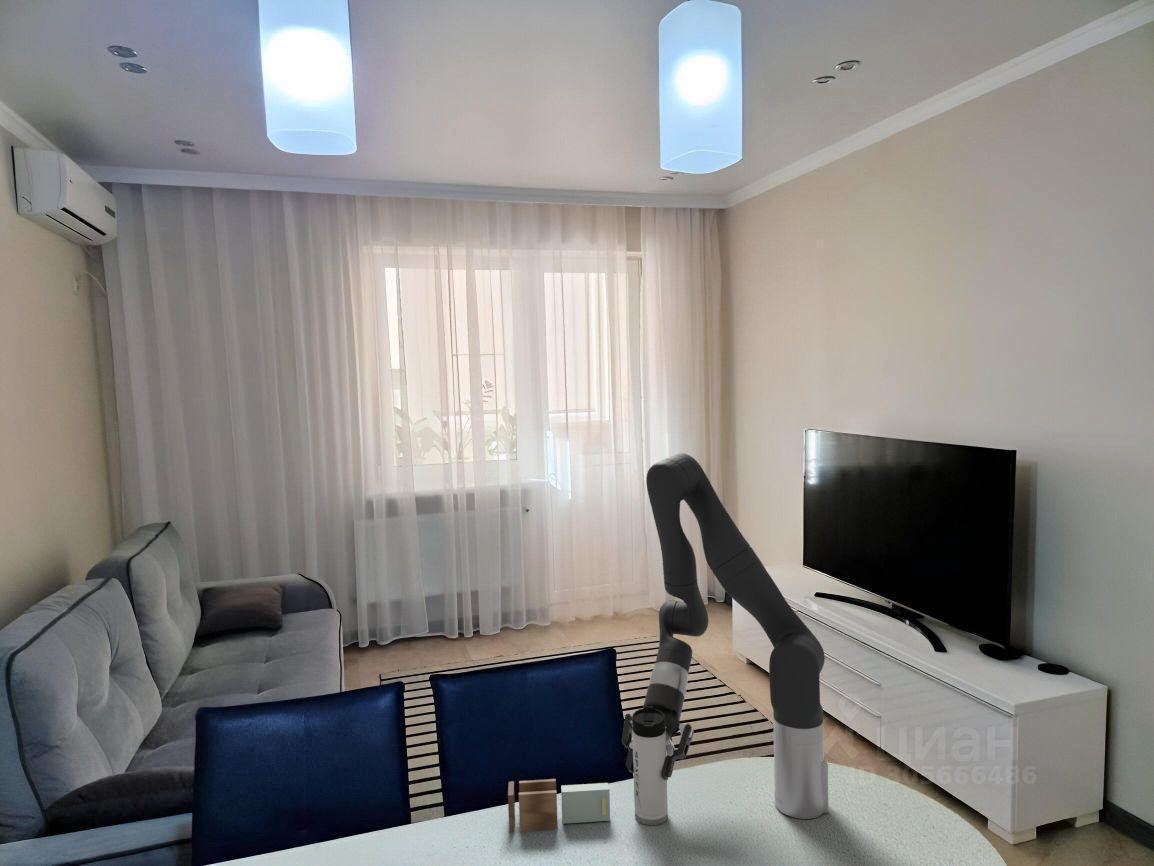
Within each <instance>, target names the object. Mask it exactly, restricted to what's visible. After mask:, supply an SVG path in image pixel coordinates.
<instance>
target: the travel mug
mask: <svg viewBox="0 0 1154 866" xmlns="http://www.w3.org/2000/svg"><path fill="white" fill-rule="evenodd" d="M643 706H644V705H643ZM631 716H632V723H633V730H632V732H633V734H632V740H633V768H634V773H633V797H634V799H633V800H634V817H635V819H636V820H637V821H638V822H639V823H642V824H644V825H646V824H647V825H646V826H656V825H660V824H663V823H664V822H666V820H668V816H669V814H668V813H669V811H668V780H663V778H662V776H661V774H662V769H663V765H664V761H665V757H666V756H667V750H666V735H665V733H666V732H665V716H664V714H663V713H662V712H661V711H660V710H657V709H653V706H644V708H643V707H642V708H640V709H638V710H636V711H634V712H633V714H632V715H631Z"/></svg>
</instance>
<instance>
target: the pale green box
mask: <svg viewBox="0 0 1154 866" xmlns="http://www.w3.org/2000/svg"><path fill="white" fill-rule="evenodd" d="M560 786H561V787H560V789H561V790H560V791H561V793H560V794H561V820H562V824H576V823H593V822H595V823H596V822H604V821H605V822H606V821H607V822H608V821H611V802H610V800H611V799H610V797H611V796H610V786H609V782H598V783H597V782H596V783H586V784H584V783H582V784H567V785H566V784H565V785H560Z"/></svg>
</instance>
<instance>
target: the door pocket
mask: <svg viewBox="0 0 1154 866" xmlns="http://www.w3.org/2000/svg"><path fill="white" fill-rule="evenodd" d="M518 786H519V787H518V790H519V792H518V810H519V812H518V815H519V832H520V833H524V832H536V831H537V832H538V831H555V830H554V829H557V830H559V829H558V826H559V825H558V795H557V792H558V791H557V780H556V778H549V779H534V780H530V779H529V780H519V782H518ZM507 789H508V790H507V802H508V803H507V806H508V807H507V809H508V833H515V829H516V808H515V805H516V804H515V801H516V800H515V781H512V780H511V781H508V788H507Z"/></svg>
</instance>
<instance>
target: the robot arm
mask: <svg viewBox="0 0 1154 866" xmlns="http://www.w3.org/2000/svg"><path fill="white" fill-rule="evenodd" d="M645 480H646V489H647V494H648V495H647V496H648V498H649V503H650V507H651V511H652V515H653V518H654V519H653V520H654V523H655V529H656V531H657V535H658V538H659V539H658V540H659V544H660V550H661V557H662V570H663V571H662V572H663V573H662V574H663V583H664V584H663V585H664V589H665V592H666V593H667V594H668V595H670V596H672V597H674V598H677V599H679V600H674V599H673V600H666V601H665V602H664V603H662V605H660V608H659V611H658V623H659V624H658V625H659V641H658V642H659V644H658V651H657V655H656V659H655V662H654V666H653V669H652V672H651V674H650V678H649V681H648V682H649V683H648V686H647V689H646V695H645V699H644V703H643V707H642V709H643V708H644V706H653V709H657V710H660V711H661V712H662V713H663V714H664V716H665V732H666V733H665V735H666V757H665V761H664V765H663V769H662V774H661V776H662V778H663V780H667V781H669V778H671V777H672V775H673V770H674V766H675V762H676V760H678V759H681V760H685V759H686V757H687V755H688V752H689V749H690V746H691V743H692V739H693V736H694V733H695V732H694V729H693V727H692V725H691V724H690V723H687V724H683V723H681V716H682V711H683V707H684V701H685V698H686V695H687V687H688V679H689V678H688V677H689V672H690V667H691V664H692V663H691V662H692V658H693V649H692V647H691V645H690V644H689V643H687V642H686V641H684V640H681V639H679V638H676V637H674V635H679V636H680V635H681V636H687V637H695V638H696V637H701V636H702V635H704V633H706V631H707V629H708V626H709V613H708V610H707V607H706V605H705V602H704V599H703V598H702V594H701V590H700V588H699V584H698V571H697V561H696V555H695V552H694V549H693V546H692V544H691V542H690V541H689V539H688V538H687V535H686V533H685V532H684V530H683V527H682V524H681V517H680V516H681V514H680V513H681V512H680V511H681V502H682V501H684V502H685V503H686V504H687V506H688V507H689V509H690V511H691V512H692V513H693V515H694V517H695V518H696V521H697V524H698V527H699V530H700V537H701V542H702V548H703V553H704V557H705V560H706V563H707V565H708V567H709V568H710V570H711V572H712V573H713V576H715V578H716V579H717V582H719V584H720V586H721V587H722V588H723V589H724V591H725V592H726V593H727V595H729V597H731V599H733V600H734V601H735V602H736V603H738V604H739V605H740V606H741V607H742V608H743V609H744V610H745V611H747V612H748V614H750V615H751V616H752V617H753V618H754V619H755V620H756V621H757V622H758V624H759V626H760V627H761V628H762V630H763V631H764V633H765V635H766V636H767V637H768V639H769V641H770V643H771V644H772V647H773V649H772V651H771V653H770V656H769V663H768V671H769V672H768V674H769V694H770V698H769V699H770V704H771V707H772V713H773V715H772V717H773V758H774V759H773V765H774V767H773V770H774V804H775V807H776V809H777V810H778V811H779V812H781V813H782V814H784V815H786V816H788V817H792V818H795V819H801V820H807V819H808V820H811V819H815V818H818V817H820V816H822V815H823V814H829V811H830V810H829V808H830V805H829V801H830V799H829V763H828V762H827V761H826V760H825V758H824V757H825V755H824V752H825V750H824V746H825V745H824V744H825V743H824V741H825V740H824V707H823V706H822V703H821V695H820V694H821V692H820V691H821V690H820V689H821V687H820V686H821V685H820V684H821V682H820V681H821V680H820V673H822V670H823V668H824V665H825V660H826V659H825V658H826V657H825V652H824V651H825V650H824V649H823V646H822V644H821V643H820V641H819V640H818V638H817V637H816V635H814V633H813V632H812V631H811V630H810V629H809V627H808V626H807V625H806V624H805V623H804V621H802V619H801V617H800V616H799V615H798V614H797V613H796V612H795V611H794V610H793V608H792V607H791V606H790V604H789V603H788V601H787V599H786V598H785V597H784V595H783V594H782V592H781V590H780V588H779V587H778V586H777V584H776V583H775V581H774V580H773V578H772V576H771V575H770V573H769V572H768V571H767V569H766V567H765V565H764V564H763V563H762V561H761V560H760V558H759V556H758V555H757V554H756V552H755V550H754V549H753V548H752V546H751V545H750V544H749V542H748V541H747V539H746V538H745V537H744V535H743V534H742V532H741V531H740V529H739V528H738V526H737V525H736V523H735V521H734V520H733V519H732V517H731V515H730V514H729V512H728V511H727V510H726V508H725V506H724V505H723V503H722V501H721V500H720V498H719V496H718V494H717V493H716V491H715V489H714V487H713V485H712V483H711V481H710V479H709V478H708V476H707V474H706V473H705V471H704V469H703V467H702V466H701V464H700V463H699V462H698V461H697V459H695V458H694V457H693V456H691V455H689V454H687V453H682V452H680V453H676V454H674V455H671V456H669V457H666V458H664V459H662V460H660V461H658V462H656V463H654V464H652V465H651V466H650V467H649V469H648V470H647V473H646V479H645ZM680 600H681V601H680ZM632 716H633V715H631V713H626V714H625V715H624V721H623V729H622V735H621V743H622V745H623V746H624V747H625V749H628V753H627V756H626V761H625V766H626V769H627V770H628V772H629V773H632V774H634V768H633V732H632V730H633V723H632ZM678 732H679V733H680V735H681V736H680V737H681V738H680V740H679V744H678V746H677V749H675V745H674V740H673V738H674V736H675V735H676V734H677V733H678Z"/></svg>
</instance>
